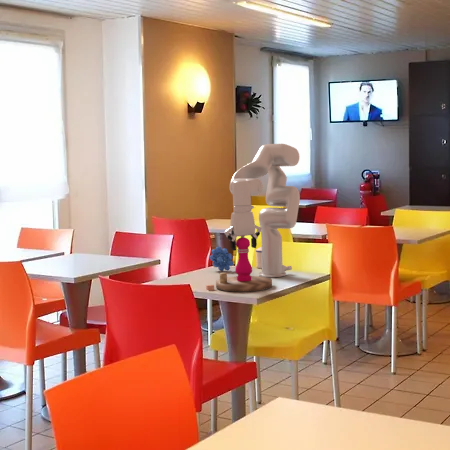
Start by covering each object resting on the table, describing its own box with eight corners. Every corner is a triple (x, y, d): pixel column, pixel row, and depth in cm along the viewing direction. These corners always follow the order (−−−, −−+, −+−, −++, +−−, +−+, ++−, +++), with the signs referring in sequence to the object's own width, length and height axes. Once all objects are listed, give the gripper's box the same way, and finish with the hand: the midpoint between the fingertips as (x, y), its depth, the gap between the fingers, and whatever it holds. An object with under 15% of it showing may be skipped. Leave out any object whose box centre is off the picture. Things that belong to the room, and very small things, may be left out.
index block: (213, 289, 339) (212, 284, 339) (214, 290, 337) (214, 285, 337) (206, 289, 338) (206, 285, 338) (207, 290, 336) (207, 285, 336)
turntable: (257, 279, 357) (257, 265, 356) (281, 288, 335) (281, 272, 334) (207, 284, 348) (207, 270, 347) (229, 293, 326) (228, 277, 325)
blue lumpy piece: (207, 272, 386) (207, 247, 385) (211, 270, 392) (210, 245, 391) (231, 272, 383) (230, 247, 382) (234, 270, 389) (233, 245, 388)
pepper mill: (250, 281, 337) (249, 234, 335) (234, 281, 339) (232, 234, 337) (253, 278, 344) (252, 232, 342) (237, 278, 346) (236, 233, 344)
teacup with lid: (273, 268, 390) (273, 245, 389) (255, 269, 392) (254, 245, 391) (275, 265, 402) (275, 242, 401) (257, 265, 403) (257, 242, 402)
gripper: (256, 206, 345) (257, 245, 348) (220, 210, 338) (221, 250, 340) (264, 208, 339) (265, 247, 341) (227, 211, 331) (229, 252, 333)
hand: (243, 248), depth 340 cm, fingers open, 9 cm apart
